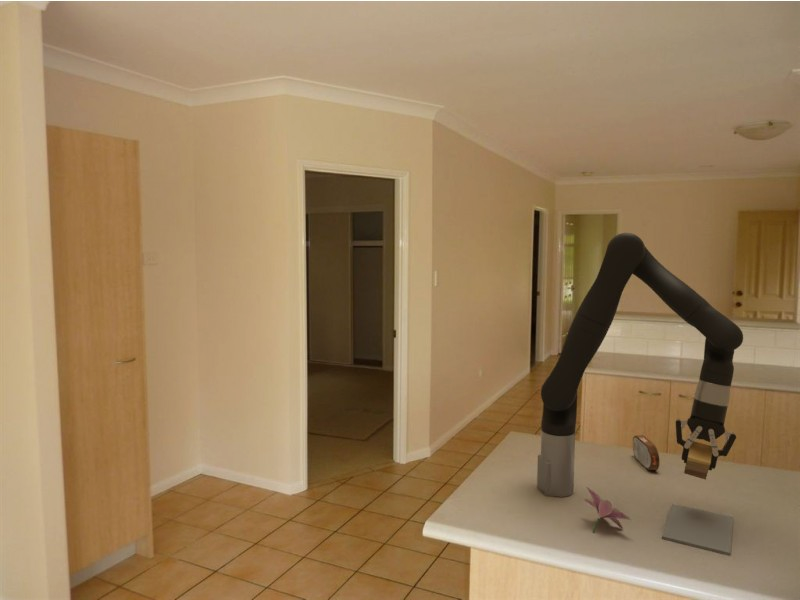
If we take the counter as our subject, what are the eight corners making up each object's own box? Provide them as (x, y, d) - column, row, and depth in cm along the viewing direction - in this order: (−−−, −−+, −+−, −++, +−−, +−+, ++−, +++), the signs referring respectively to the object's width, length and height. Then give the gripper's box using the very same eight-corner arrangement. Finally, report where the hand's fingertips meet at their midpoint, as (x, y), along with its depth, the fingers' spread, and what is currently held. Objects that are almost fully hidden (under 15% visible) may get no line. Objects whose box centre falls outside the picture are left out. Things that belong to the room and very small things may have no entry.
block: (705, 479, 144) (710, 463, 139) (684, 473, 146) (687, 457, 141) (708, 463, 147) (713, 446, 142) (687, 457, 149) (691, 440, 144)
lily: (633, 548, 132) (643, 507, 135) (587, 530, 131) (598, 489, 134) (606, 538, 144) (616, 500, 146) (564, 521, 143) (575, 484, 145)
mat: (730, 555, 127) (730, 552, 127) (661, 538, 134) (661, 536, 134) (732, 518, 144) (733, 516, 144) (672, 505, 151) (672, 503, 151)
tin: (660, 474, 172) (661, 447, 171) (649, 474, 172) (650, 447, 171) (640, 456, 187) (641, 431, 186) (630, 456, 187) (631, 431, 186)
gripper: (679, 394, 142) (665, 460, 143) (745, 410, 135) (730, 479, 136) (680, 391, 148) (667, 454, 149) (743, 405, 142) (729, 471, 143)
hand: (697, 465), depth 143 cm, fingers closed on block, 5 cm apart
